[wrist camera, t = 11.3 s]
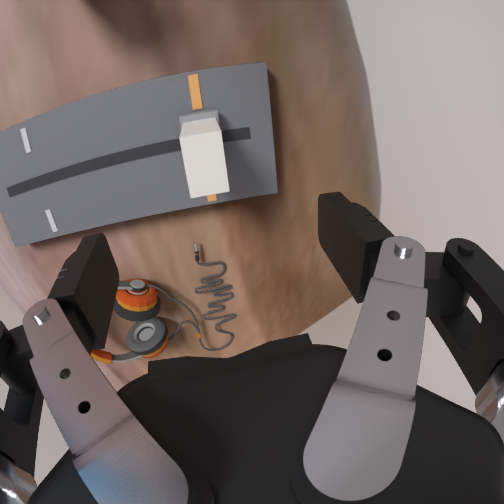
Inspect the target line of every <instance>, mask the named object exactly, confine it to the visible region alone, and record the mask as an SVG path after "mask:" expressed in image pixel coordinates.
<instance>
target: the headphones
mask: <svg viewBox="0 0 504 504" xmlns="http://www.w3.org/2000/svg"><path fill="white" fill-rule="evenodd" d="M194 254H195V260H196V261H197V263H198V264H199V265H202V266H205V265H211V264H222V265H223V271H222V272H221V273H219V274H216V275H213V276H208V277H204V278H202V279H201V280H200V281H201V283H204V284H206V283H212V282H217V281H219V282H217V283H213V284H209V285H205V286H200V287H197V288H196V289H195V292H196V293H198V294H201V293H207V292H210V291H214V290H217V291H215V292H214V293H213V295H214V296H225V295H229V294H231V295H232V296H231V297H229V298H226V299H222V300H218V301H213V302H210V303H208V305H207V306H208V307H209V308H212V307H222V308H221V309H219V310H214V311H210V312H207V313H205V314H204V315H203V318H204V319H206V320H213V319H218V318H223V317H228V316H234V317H231V318H228V319H226V320H223V321H221V322H219V323H217V324H216V325H215V330H216V331H218V332H221V333H226V334H230V335H231V339H230V341H229V342H228V343H227V344H226V345H225V346H223V347H221V348H218V349H208V348H206V347H204V345H203V344H202V342H201V333H200V329H199V325H198V322H197V319H196V317H195V315H194V314H193V312H192V311H191V310H190V309H189V308H188V307H187V306H186V305H185V304H184V303H182V302H181V301H179V300H176V299H173V298H171V297H170V296H169V295H168V294H167V293H166V292H165V291H164V290H162V289H161V288H159V287H156V286H154V285H152V284H151V283H149V282H147V281H145V280H142V279H129V280H126V281H119V286H118V289H117V294H116V298H115V302H114V306H113V308H114V310H115V312H116V313H117V314H118V315H119V316H120V317H122V318H124V319H126V320H130V321H138V322H136V323H135V324H134V325H133V326H132V327H131V329H130V330H129V332H128V334H127V337H126V343H127V346H128V347H129V348H130V350H131V351H132V352H130V353H127V354H122V355H112V354H111V353H110V352H106V351H103V350H100V349H96V350H92V352H91V357H92V358H93V359H95V360H98V361H100V362H103V363H108V364H111V363H112V362H127V361H131V360H134V359H137V358H140V357H142V356H143V357H146V358H151V357H155V356H157V355H159V354H160V353H162V352H163V350H164V349H165V348H166V346H167V344H168V341H169V340H171V339H172V338H173V337H174V336H175V335H176V333H177V332H178V330H179V328H180V327H181V325H182V324H183V323H186V322H189V323H191V324H193V325H194V326H195V328H196V330H197V335H198V338H199V341H200V344H201V345H202V347H203V348H204V349H206V350H209V351H217V350H221V349H223V348H225V347H226V346H227V345H229V344H230V342H231V341H232V339H233V334H231V333H229V332H225V331H220V330H218V329H217V325H219V324H221V323H223V322H225V321H228V320H231V319H234V318H236V317H237V315H236V314H229V315H224V316H219V317H214V318H206V317H205V316H206V315H207V314H209V313H213V312H218V311H221V310H223V309H224V306H223V305H213V306H209V305H210V304H213V303H218V302H222V301H226V300H229V299H231V298H233V296H234V294H233V293H231V292H229V293H225V294H216V293H217V292H221V291H226V290H229V289H231V288H232V285H225V286H221V287H217V288H214V289H210V290H206V291H200V292H198V291H197V290H198V289H201V288H205V287H210V286H213V285H217V284H220V283H221V282H222V279H216V280H212V281H205V282H204V281H203V280H204V279H209V278H213V277H217V276H220V275H221V274H223V273H224V271H225V264H224V263H223V262H210V263H204V264H202V263H200V262H199V251H198V249H197V243H195V253H194ZM225 287H229V288H226V289H221V288H225ZM156 289H158V290H160V291H162V292H163V293H165V294H166V296H167V297H168V298H170V299H171V300H173V301H176V302H178V303H180V304H182V305H183V306H184V307H185V308H187V309H188V310H189V312H190V313H191V314H192V316H193V317H194V319H195V322H196V325H197V326H196V325H195V324H194V323H193V322H191V321H188V320H187V321H182V322H181V323H180V324H179V326H178V328H177V330H176V332H175V333H174V334H173V335H172V336H171V337H170V338H169V339H168V335H167V334H168V331H167V327H166V325H165V323H164V322H163V321H162V320H161V319H160V318H158V317H155V316H156V315H157V314H158V313H159V311H160V305H161V302H160V298H159V296H158V295H157V290H156ZM218 289H221V290H218Z"/></svg>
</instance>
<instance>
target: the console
mask: <svg viewBox="0 0 504 504" xmlns="http://www.w3.org/2000/svg"><path fill="white" fill-rule="evenodd" d="M214 109H217V111H218V118H219V125H220V129H221V133H222V141H223V148H224V155H225V162H226V169H227V176H228V184H229V191H230V192H224V193H218V194H212V195H206V196H201V197H195V198H191V197H190V192H189V187H188V182H187V177H186V172H185V166H184V161H183V156H182V150H181V145H180V139H179V137H180V133H181V127H180V121H179V116H180V115H185V114H190V113H196V112H202V111H208V110H214ZM275 193H278V190H277V177H276V164H275V152H274V140H273V128H272V117H271V106H270V95H269V85H268V75H267V65H266V62H265V63H252V64H242V65H233V66H225V67H217V68H210V69H203V70H197V71H191V72H185V73H180V74H175V75H170V76H165V77H160V78H155V79H151V80H147V81H142V82H138V83H134V84H130V85H127V86H123V87H119V88H116V89H112V90H109V91H105V92H102V93H99V94H95V95H92V96H89V97H86V98H83V99H80V100H77V101H74V102H71V103H69V104H66V105H63V106H60V107H58V108H55V109H52V110H50V111H47V112H45V113H42V114H40V115H38V116H35V117H33V118H30V119H28V120H26V121H24V122H21V123H19V124H17V125H15V126H13V127H10V128H8V129H6V130H4V131H2V132H0V211H1V213H2V216H3V218H4V221H5V223H6V226H7V228H8V231H9V233H10V235H11V237H12V240H13V242H14V244H15V246H16V247H19V246H23V245H27V244H30V243H34V242H38V241H42V240H46V239H50V238H53V237H57V236H62V235H66V234H70V233H74V232H78V231H82V230H86V229H91V228H95V227H99V226H104V225H108V224H113V223H117V222H122V221H127V220H131V219H136V218H141V217H146V216H150V215H155V214H160V213H165V212H171V211H176V210H181V209H186V208H192V207H197V206H202V205H208V204H214V203H219V202H225V201H231V200H237V199H243V198H249V197H255V196H262V195H268V194H275Z"/></svg>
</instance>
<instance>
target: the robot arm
mask: <svg viewBox="0 0 504 504" xmlns="http://www.w3.org/2000/svg"><path fill="white" fill-rule="evenodd" d="M318 236H319V241H320V244H321V247H322V249H323V250H324V252H325V253H326V255H327V256H328V258H329V259H330V261H331V262H332V264H333V266H334V267H335V269H336V270H337V272H338V273H339V275H340V276H341V278H342V280H343V281H344V283H345V284H346V286H347V288H348V289H349V291H350V292H351V294H352V296H353V297H354V299H355V300H356V302H357V303H362V302H364V303H363V305H362V309H361V312H360V315H359V318H358V321H357V324H356V327H355V330H354V333H353V336H352V339H351V341H350V344H349V347H348V350H346V349H344V348H340V347H336V346H330V345H320V344H312V342H311V340H310V338H309V335H308V333H306V334H302V335H297V336H293V337H288V338H284V339H279V340H274V341H270V342H267V343H265V344H262V345H260V346H257V347H255V348H253V349H250V350H248V351H245V352H243V353H241V354H238V355H236V356H233V357H230V358H209V357H190V356H185V357H178V358H171V359H163V360H155V361H149V362H148V374H145V375H143V376H141V377H139V378H136V379H135V380H133V381H131V382H129V383H128V384H127V385H125V386H124V387H123V388H121V389H120V390H119V391H118V392H116V390H115V389H114V388H113V386H112V385H111V384H110V382H109V381H108V380H107V378H106V377H105V375H104V374H103V373H102V371H101V370H100V368H99V367H98V365H97V364H96V363H95V361H94V360H93V358H92V357H91V352H92V350H96V349H104V348H105V343H106V338H107V333H108V328H109V324H110V319H111V315H112V310H113V306H114V302H115V298H116V294H117V289H118V286H119V273H118V269H117V266H116V263H115V261H114V258H113V255H112V253H111V250H110V248H109V245H108V242H107V239H106V237H105V235H104V234H103V233H99V234H94V235H90V236H85V237H83V239H82V241H81V242H80V244H79V246H78V248H77V250H76V252H74V253H73V254H72V255H71V256H70V257H69V258H68V259H67V260H66V261H65V263H64V265H63V267H62V269H61V271H60V273H59V275H58V279H56V281H55V283H54V285H53V287H52V289H51V291H50V294H49V296H48V298H47V299H44V300H41V301H39V302H37V303H36V304H34V305H33V306H32V307H31V308H30V309H29V310H28V311H27V312H26V314H25V315H24V318H23V325H21V326H19V327H16V328H14V329H11V330H9V331H8V329H7V328H6V327H5V325H4V324H3V322H2V321H0V377H1V378H2V379H3V380H4V381H5V382H6V384H7V385H8V386H9V391H8V395H7V399H6V404H5V408H4V411H3V410H2V409H1V408H0V504H504V271H503V270H502V269H501V267H499V265H497V263H496V262H495V261H494V260H493V259H492V258H491V257H490V256H489V255H487V253H485V251H483V250H482V249H481V248H480V247H479V246H478V245H477V244H475V243H474V242H472V241H469V240H466V239H463V238H454V239H451V240H449V241H448V242H447V244H446V248H445V252H425V249H424V247H423V246H422V245H421V244H420V243H419V242H417V241H415V240H413V239H411V238H408V237H402V236H394V235H393V234H392V233H391V232H390V231H389V230H388V229H387V228H386V227H385V226H384V225H383V224H382V223H381V222H380V221H378V219H377V218H376V217H375V216H373V215H372V213H371V212H369V211H368V210H367V209H366V208H365V207H363V206H361V205H359V204H357V203H355V202H353V203H351V202H350V201H349V200H348V199H347V198H346V197H345V196H344V195H343V194H342V193H341V192H332V193H325V194H320V195H319V198H318ZM470 296H471V297H472V298H473V299H474V301H475V302H476V303H477V304H478V305H479V307H480V309H481V312H482V321H481V324H480V323H479V322H478V320H477V319H476V318H475V316H474V315H473V314H472V312H471V311H470V310H469V308H468V307H467V306H466V305H467V302H468V300H469V297H470ZM426 317H429V319H430V320H431V322H432V323H433V325H434V326H435V328H436V329H437V331H438V332H439V334H440V336H441V337H442V339H443V340H444V342H445V344H446V345H447V347H448V348H449V350H450V352H451V353H452V355H453V357H454V358H455V360H456V362H457V363H458V365H459V367H460V368H461V370H462V372H463V374H464V375H465V377H466V379H467V381H468V382H469V384H470V386H471V387H472V389H473V391H474V393H475V395H476V400H475V407H476V412H477V413H474V412H472V411H470V410H468V409H466V408H464V407H461V406H460V405H457V404H455V403H453V402H451V401H449V400H447V399H445V398H443V397H441V396H439V395H437V394H435V393H433V392H430V391H429V390H427V389H424V388H423V387H421V386H419V385H417V379H418V373H419V367H420V360H421V354H422V346H423V338H424V329H425V320H426ZM44 398H45V401H46V403H47V405H48V407H49V409H50V411H51V414H52V416H53V418H54V419H55V422H56V424H57V426H58V428H59V430H60V432H61V433H62V436H63V437H64V439H65V441H66V443H67V445H68V447H69V450H68V451H67V452H66V453H65V454H64V456H63V457H62V458H61V459H60V460H59V462H58V463H57V464H56V465H55V467H54V468H53V469H52V470H51V471H50V473H49V474H48V475H47V476H46V477H45V479H44V480H43V481H42V482H41V483H40V485H39V486H38V487H37V484H36V482H35V480H34V470H35V459H36V448H37V440H38V432H39V425H40V417H41V412H42V406H43V400H44Z"/></svg>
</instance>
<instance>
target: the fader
mask: <svg viewBox="0 0 504 504" xmlns="http://www.w3.org/2000/svg"><path fill="white" fill-rule="evenodd" d="M179 121H180V127H181V133H180V137H179V139H180V145H181V150H182V156H183V161H184V166H185V172H186V177H187V182H188V187H189V192H190V197H191V198H195V197H201V196H206V195H212V194H218V193H224V192H230V191H229V184H228V176H227V169H226V162H225V155H224V148H223V141H222V133H221V129H220V125H219V118H218V111H217V109H214V110H208V111H202V112H196V113H190V114H185V115H180V116H179Z"/></svg>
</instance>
